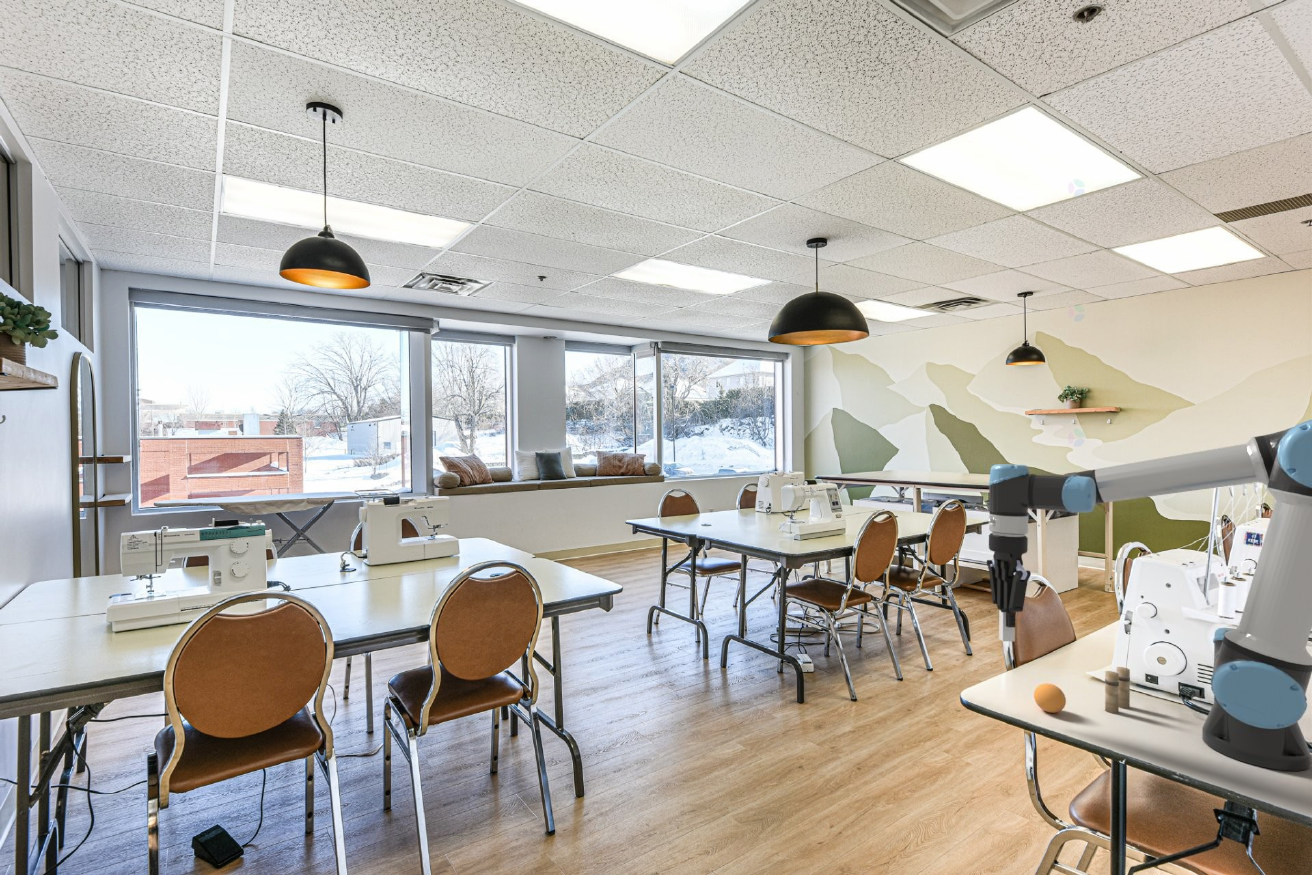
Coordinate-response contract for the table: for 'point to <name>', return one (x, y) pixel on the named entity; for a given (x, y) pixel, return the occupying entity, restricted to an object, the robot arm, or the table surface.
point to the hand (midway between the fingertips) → (1006, 640)
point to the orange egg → (1049, 698)
